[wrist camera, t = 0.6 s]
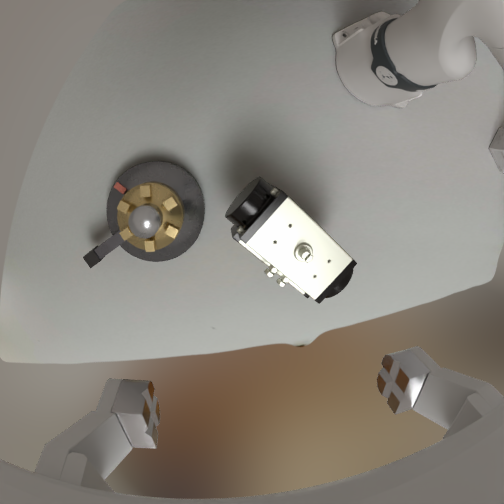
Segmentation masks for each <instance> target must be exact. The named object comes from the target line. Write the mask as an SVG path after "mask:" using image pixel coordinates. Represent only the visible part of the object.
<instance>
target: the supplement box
mask: <svg viewBox="0 0 504 504" xmlns="http://www.w3.org/2000/svg"><path fill="white" fill-rule="evenodd" d="M489 150H490V152H491V154H492V156H493V158H494V160H495V162H496V164H497V166H498V168H499V170H500V172H501V173H503V174H504V128H501V127H499V129H498V131H497V133H496V135H495V137H494V139H493V141H492V143H491V145H490V147H489Z"/></svg>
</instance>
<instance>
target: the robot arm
mask: <svg viewBox="0 0 504 504" xmlns="http://www.w3.org/2000/svg"><path fill="white" fill-rule="evenodd" d="M343 35H344V36H345V37H343ZM473 36H474V37H478V38H479V39H480V40H481V41H482V42H483V43H484V44H486V46H487V47H488V48H489V50H490V51H491V53H492V54H493V55H494V57H495V58H496V60H497V61H498V63H499V64H500V66H501V67H502V69H503V70H504V0H419V1H418V3H417V4H416V5H415V6H414V7H413V8H412V9H410V10H409V11H408V12H406V13H405V14H404V15H402V16H400V15H397V14H394V15H392V16H391V15H390V14H388V13H385V12H383V11H381V12H378V13H375V14H373V15H371V16H369V17H367V18H365V19H363V20H361V21H359V22H356V23H354V24H352V25H350V26H348V27H346V28H344V29H342V30H340V31H339V32H337V33H335V34H334V35H333V36H332V39H333V43H334V45H335V48H336V66H337V71H338V74H339V77H340V79H341V81H342V82H343V84H344V85H345V87H346V88H347V89H348V91H349V92H350V93H351V94H352V95H354V96H355V97H356V98H357V99H359V100H360V101H362V102H364V103H366V104H369V105H373V106H386V105H391V106H394V107H397V108H404V107H406V106H407V104H408V102H409V100H412V99H415V98H418V97H420V96H422V92H423V91H425V90H428V89H430V88H433V87H435V86H436V85H437V84H441V83H446V82H452V81H457V80H462V79H464V78H466V77H467V76H468V75H469V74H470V73H471V72H472V71H473V69H474V67H475V64H476V59H477V53H476V44H475V40H474V37H473ZM382 366H383V368H382V369H381V371H380V372H379V373H378V377H377V387H378V389H379V391H380V393H381V395H382V396H384V397H386V398H388V401H387V404H388V405H389V407H390V408H391V410H392V411H393V413H394V414H398V413H401V412H404V411H407V410H410V409H413V410H414V411H416V412H418V413H420V414H421V415H423V416H425V417H427V418H428V419H430V420H432V421H434V422H435V423H437V424H439V425H441V426H442V427H444V428H446V429H448V431H447V432H446V434H445V435H444V437H443V440H441V441H440V442H437V443H435V444H433V445H431V446H429V447H427V448H425V449H423V450H421V451H418V452H416V453H414V454H412V455H409V456H407V457H405V458H402V459H400V460H397V461H395V462H392V463H390V464H387V465H385V466H382V467H379V468H376V469H373V470H370V471H368V472H364V473H361V474H358V475H355V476H351V477H348V478H345V479H341V480H337V481H334V482H329V483H325V484H321V485H317V486H313V487H308V488H303V489H298V490H293V491H287V492H281V493H274V494H267V495H259V496H250V497H238V498H222V499H172V498H155V497H145V496H136V495H128V494H120V493H115V492H114V491H113V490H112V489H111V487H109V485H108V484H107V483H106V481H105V479H106V478H107V476H108V475H109V474H110V473H111V472H112V471H113V470H114V469H115V468H116V466H117V465H118V464H119V463H120V462H121V461H122V460H123V459H124V458H125V456H126V455H127V454H128V453H129V452H130V451H131V450H132V447H137V448H157V439H158V432H157V429H156V426H157V425H158V424H159V423H160V407H159V402H158V399H157V398H156V397H155V396H154V390H155V389H154V386H153V383H152V382H151V381H146V380H128V379H123V380H122V379H111V378H110V379H108V380H107V382H106V384H105V387H104V390H103V392H102V395H101V398H100V400H99V403H98V406H97V409H96V411H91V412H90V413H88V414H87V415H86V416H84V417H83V418H82V419H80V420H79V421H77V422H76V423H74V424H73V425H72V426H70V427H69V428H68V429H66V430H65V431H64V432H62V433H61V434H59V435H58V436H56V437H55V438H53V439H52V440H51V441H50V442H48V443H46V444H45V446H44V449H43V451H42V454H41V456H40V459H39V461H38V464H37V467H36V469H35V472H32V471H29V470H26V469H24V468H21V467H18V466H16V465H13V464H11V463H9V462H6V461H4V460H2V459H0V504H504V397H503V396H502V395H501V394H500V393H499V392H498V391H497V390H496V389H495V388H494V387H493V386H492V385H491V384H490V383H488V382H484V381H482V380H478V379H475V378H473V377H469V376H467V375H464V374H461V373H458V372H455V371H452V370H449V369H447V368H442V369H441V368H440V367H439V366H438V365H437V363H436V362H435V361H434V360H433V359H432V358H431V357H430V356H429V355H428V354H427V353H426V352H425V351H423V349H422V348H420V347H418V346H416V347H413V348H409V349H407V350H403V351H399V352H395V353H391V354H387V355H385V356H384V358H383V360H382Z"/></svg>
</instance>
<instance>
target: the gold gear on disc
mask: <svg viewBox="0 0 504 504" xmlns="http://www.w3.org/2000/svg"><path fill="white" fill-rule="evenodd" d="M150 181H156V182H161V183H164V184H167V185H169V186H170V187H172V188H173V189H174V190H175V191H176V192H177V193H178V195H179V196H180V198H181V200H182V202H183V205H184V211H185V216H184V222H183V225H182V227H181V230H180V232H179V234H178V235H177V237H176V238H175V240H174V241H173V242H172V243H170V244H169V245H168V246H166V247H164V248H162V249H158V250H155V252H146V251H145V250H143V249H140V248H137V247H135V246H133V245H132V244H131V243H129V242H128V241H127V240H126V241H125V242H123V243H122V244H121V245H120V246H121V247H122V248H123V249H124V250H125V251H127V252H128V253H130V254H131V255H133V256H135V257H137V258H139V259H142V260H146V261H153V262H159V261H166V260H170V259H173V258H176V257H178V256H180V255H181V254H183V253H184V252H186V251H187V250H188V249H189V248H190V247H191V246H192V245H193V244H194V242H195V241H196V239H197V238H198V236H199V234H200V231H201V229H202V225H203V221H204V215H205V203H204V198H203V194H202V191H201V189H200V187H199V185H198V183H197V182H196V180H195V179H194V178H193V177H192V176H191V175H190V174H189V173H188V172H187V171H186V170H184V169H183V168H181V167H179V166H177V165H175V164H172V163H169V162H162V161H155V162H146V163H142V164H139V165H136V166H134V167H132V168H130V169H129V170H127V171H126V172H125V173H123V174H122V175H121V176H120V177H119V179H118V180H117V181H116V183H115V184H114V186H113V188H112V189H111V192H110V194H109V198H108V202H107V220H108V224H109V228H110V230H111V233H112V235H114V234H115V233H117V232H118V231H120V229H119V225H118V221H117V211H118V209H117V207H118V205H119V202H120V200H121V199H122V198H123V196H124V195H125V194H126V193H127V192H128V191H129V190H130V189H132V188H133V187H135V186H137V185H140V184H142V183H145V182H150ZM162 222H163V214H162V211H161V210H160V208H159V207H158V206H156V205H155V204H152V203H144V204H142V205H140V206H139V207H137V208H136V209H135V210H133V211H132V213H131V214H130V216H129V220H128V224H129V228H130V230H131V232H132V233H133V234H134V235H135V236H137V237H139V238H144V239H145V238H150V237H152V236H153V235H154V234H155V233H156V232H157V231H158V229H159V228H160V227H161V225H162Z"/></svg>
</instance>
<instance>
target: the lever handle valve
mask: <svg viewBox="0 0 504 504" xmlns="http://www.w3.org/2000/svg"><path fill="white" fill-rule="evenodd" d="M144 203H152V204H155V205H156V206H158V207H159V208H160V210H161V211H162V214H163V222H162V225H161V227H160V228H159V229H158V231H157V232H156V233H155V234H154V235H153V236H152V237H150V238H145V239H144V238H139V237H137V236H135V235H134V234H133V233H132V232H131V230H130V228H129V224H128V220H129V216H130V214H131V213H132V211H133V210H135V209H136V208H137V207H139V206H140V205H142V204H144ZM117 209H118V211H117V221H118V225H119V229H120V231H118V232H117V233H115V234H114V235H113V236H111V237H110V238H109V239H107V240H106V241H105V242H103V243H102V244H101V245H100V246H96V247H95V248H94V249H92V250H91V251H90V252H89V253H87V254H86V255H85V256H84V257H83V258H84V260H85V261H86V263H87V264H88V265H89V267H90V268H92V267H93V266H94V265H96V264H97V263H98V262H100V261H101V260H102V259H103V258H104V257H105V255H107V254H108V253H110V252H111V251H112V250H114V249H115V248H116V247H118V246H119V245H121V244H122V243H123V242H125V241H126V240H127V241H128V242H129V243H131V244H132V245H133V246H135V247H137V248H140V249H143V250H145V251H146V252H155V250H158V249H162V248H164V247H166V246H168V245H169V244H170V243H172V242H173V241H174V240H175V238H176V237H177V235H178V234H179V232H180V230H181V227H182V225H183V222H184V216H185V211H184V205H183V202H182V200H181V198H180V196H179V195H178V193H177V192H176V191H175V190H174V189H173V188H172V187H170V186H169V185H167V184H164V183H161V182H156V181H150V182H145V183H142V184H140V185H137V186H135V187H133V188H132V189H130V190H129V191H128V192H127V193H126V194H125V195H124V196H123V198H122V199H121V200H120V202H119V205H118V207H117Z"/></svg>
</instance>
